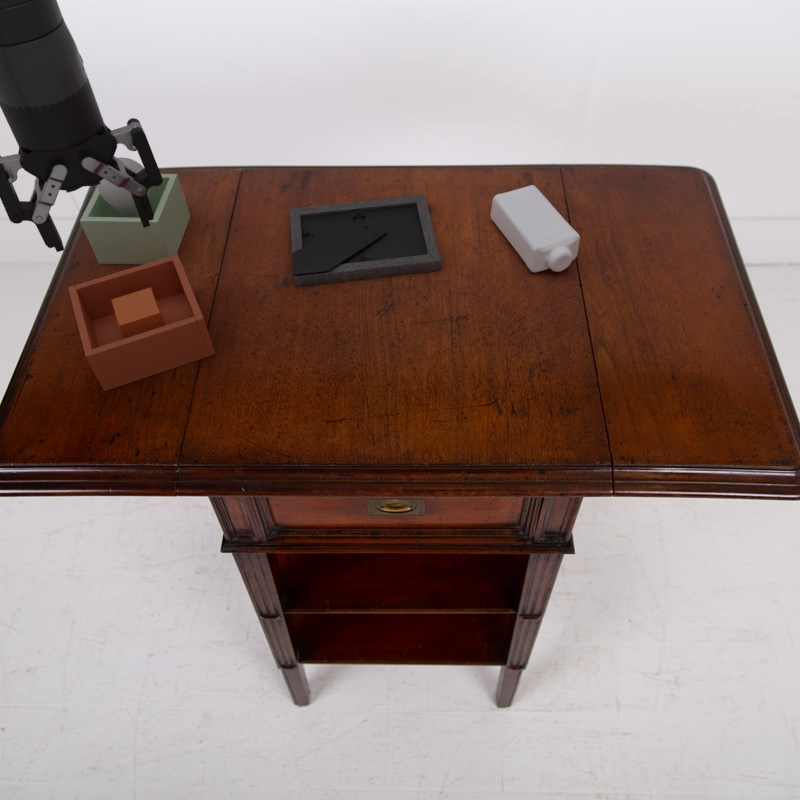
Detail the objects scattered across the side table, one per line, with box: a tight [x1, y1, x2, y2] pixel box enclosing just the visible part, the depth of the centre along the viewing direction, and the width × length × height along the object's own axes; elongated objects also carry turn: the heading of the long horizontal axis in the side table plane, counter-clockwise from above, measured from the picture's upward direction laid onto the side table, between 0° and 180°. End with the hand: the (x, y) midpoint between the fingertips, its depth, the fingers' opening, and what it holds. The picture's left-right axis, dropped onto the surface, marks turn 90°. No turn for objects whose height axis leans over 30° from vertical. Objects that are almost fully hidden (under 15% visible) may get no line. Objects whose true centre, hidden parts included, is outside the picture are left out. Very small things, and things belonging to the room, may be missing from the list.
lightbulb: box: [97, 156, 151, 218], centre depth 94 cm, size 6×6×11 cm
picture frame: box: [289, 193, 442, 287], centre depth 96 cm, size 13×2×18 cm
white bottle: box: [490, 184, 581, 273], centre depth 94 cm, size 6×13×4 cm, turn 22°
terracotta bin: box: [67, 253, 216, 392], centre depth 85 cm, size 13×12×6 cm
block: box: [111, 287, 166, 338], centre depth 85 cm, size 4×4×4 cm
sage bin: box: [79, 173, 191, 265], centre depth 96 cm, size 10×10×7 cm
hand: (103, 234), depth 76 cm, fingers open, 8 cm apart
